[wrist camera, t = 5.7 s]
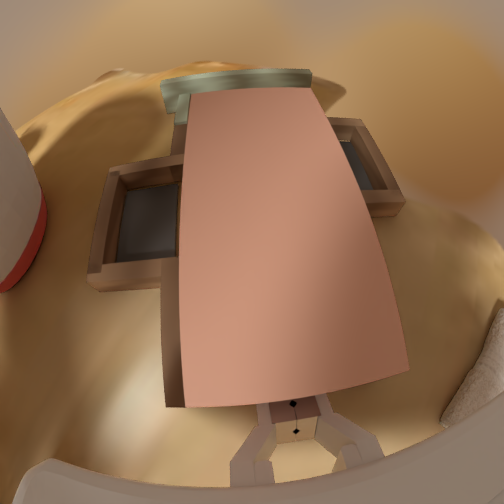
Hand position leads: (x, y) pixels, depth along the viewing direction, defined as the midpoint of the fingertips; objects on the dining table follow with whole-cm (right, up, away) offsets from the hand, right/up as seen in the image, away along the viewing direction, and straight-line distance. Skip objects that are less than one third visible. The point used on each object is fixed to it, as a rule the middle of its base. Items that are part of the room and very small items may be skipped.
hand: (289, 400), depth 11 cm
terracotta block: (-1, +4, +7) cm, 8 cm away
